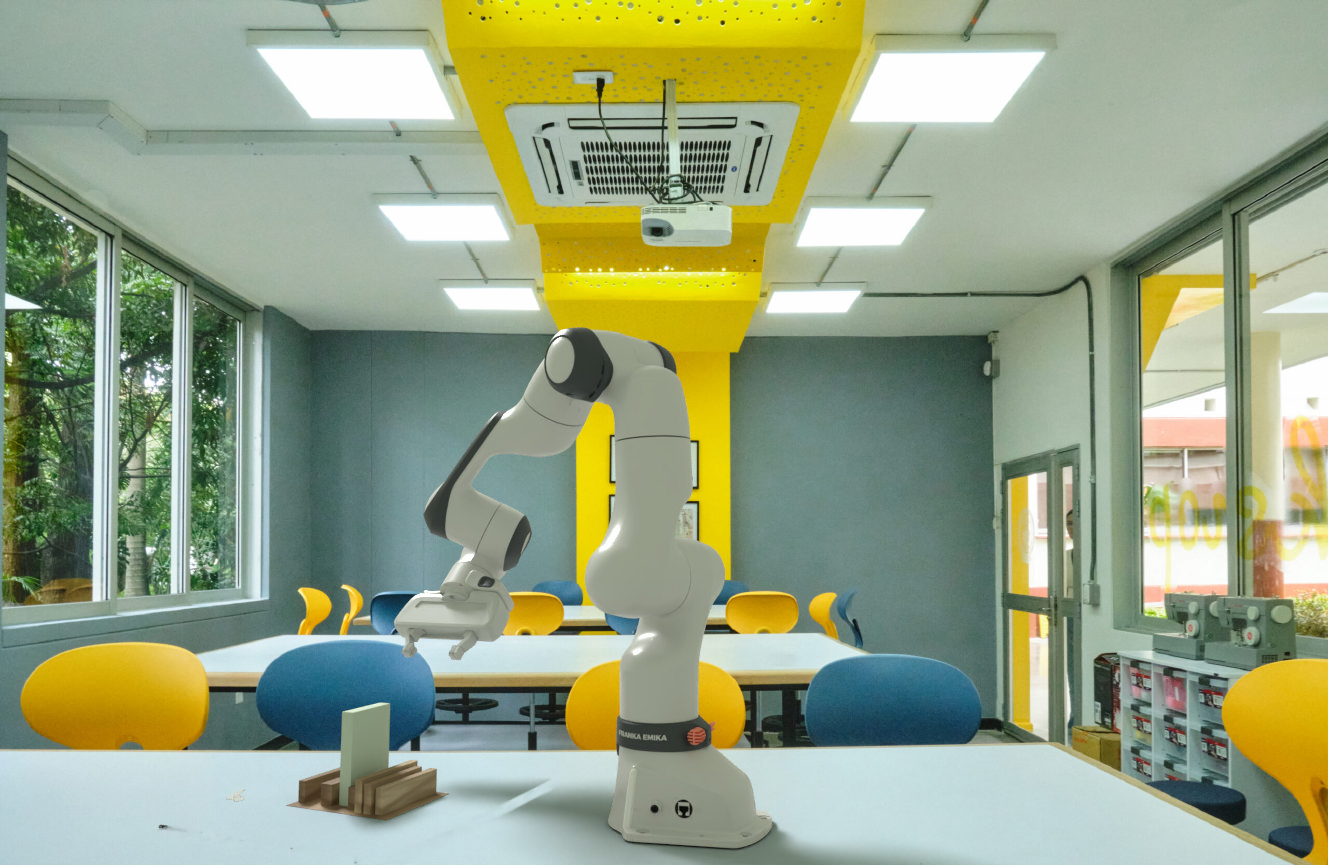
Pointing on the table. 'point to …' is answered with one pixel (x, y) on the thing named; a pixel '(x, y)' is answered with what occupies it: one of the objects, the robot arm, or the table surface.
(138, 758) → the table surface
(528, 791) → the table surface
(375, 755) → the pale green flat block
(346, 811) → the offcut rack
